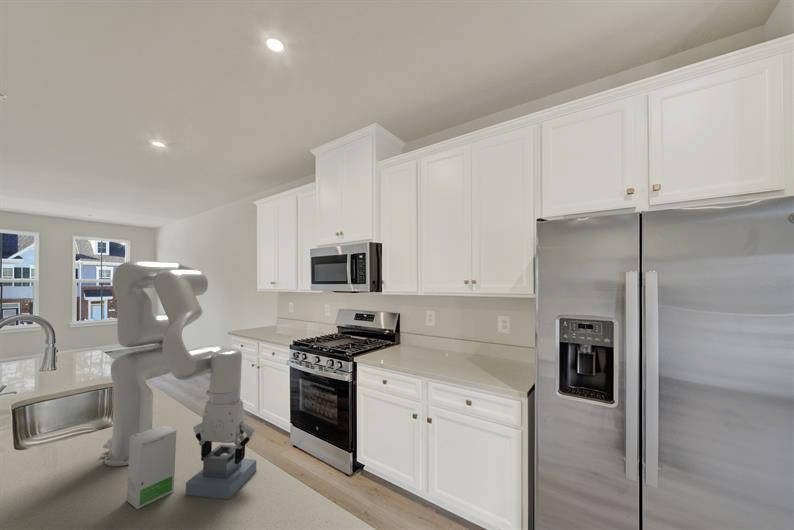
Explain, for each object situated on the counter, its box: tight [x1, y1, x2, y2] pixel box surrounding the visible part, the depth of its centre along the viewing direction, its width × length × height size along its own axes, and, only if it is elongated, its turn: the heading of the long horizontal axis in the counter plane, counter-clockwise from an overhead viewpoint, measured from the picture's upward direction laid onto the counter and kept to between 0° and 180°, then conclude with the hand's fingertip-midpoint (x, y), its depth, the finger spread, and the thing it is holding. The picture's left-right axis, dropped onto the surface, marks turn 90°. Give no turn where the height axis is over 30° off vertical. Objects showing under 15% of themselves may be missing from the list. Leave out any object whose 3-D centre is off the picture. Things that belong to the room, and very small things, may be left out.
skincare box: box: [126, 425, 177, 510], centre depth 82 cm, size 8×7×16 cm
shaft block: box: [185, 453, 257, 500], centre depth 87 cm, size 12×12×7 cm
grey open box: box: [202, 444, 242, 479], centre depth 87 cm, size 7×7×5 cm
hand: (222, 459), depth 87 cm, fingers open, 9 cm apart
